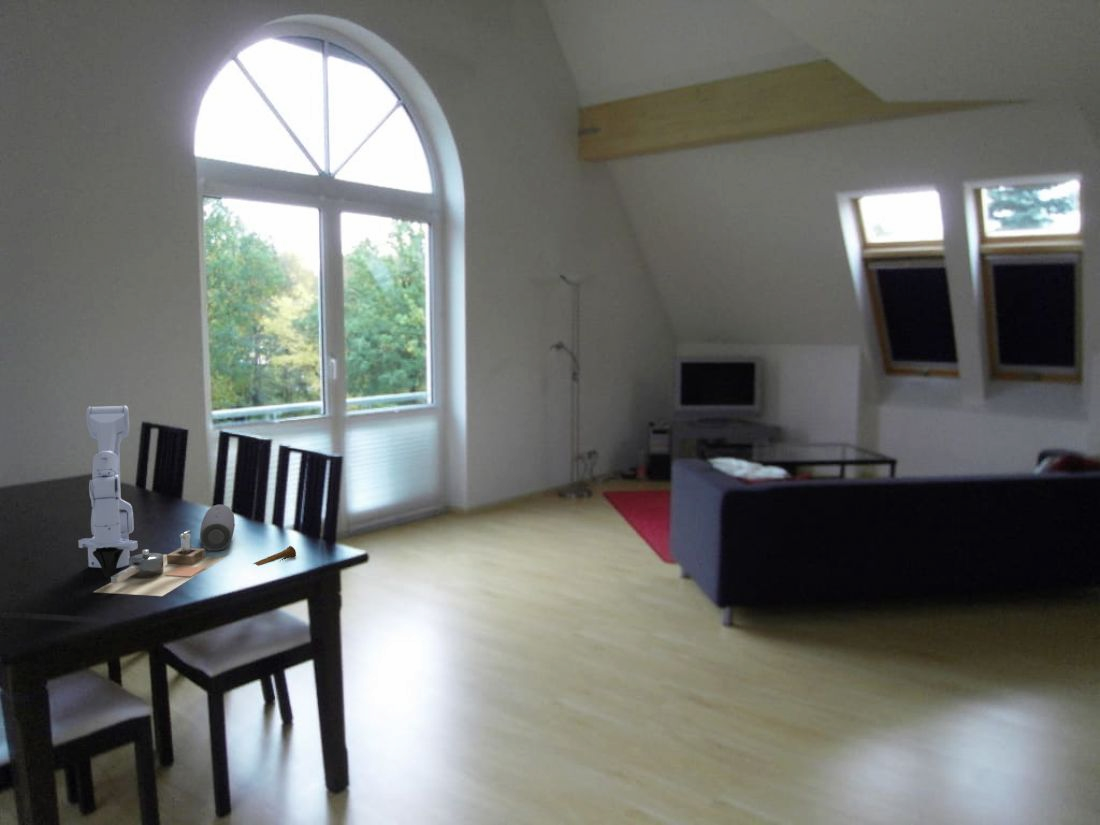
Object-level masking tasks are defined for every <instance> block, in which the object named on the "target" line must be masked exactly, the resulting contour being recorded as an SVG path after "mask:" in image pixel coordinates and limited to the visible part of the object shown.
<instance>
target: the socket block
mask: <svg viewBox="0 0 1100 825" xmlns="http://www.w3.org/2000/svg"><path fill="white" fill-rule="evenodd" d="M166 555H167V564H177V565H193V564H195V563H196V562H198V561H200V560H202V559H203V558H205V557H206V548H199V547H198V548H197V547H191V553H190V554H182V553H181V547H179V548H177V549H176V550H174V551H172V552H170V553H168V554H166Z"/></svg>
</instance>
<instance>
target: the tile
mask: <svg viewBox="0 0 1100 825" xmlns="http://www.w3.org/2000/svg"><path fill="white" fill-rule="evenodd" d="M204 569H205V568H204V567H186V566H180V567H178V568H177V569H175V570H173V571H171V572H170V573H168V574H166V575H165V576H175V577H192V576H194V575H196V574H197V573H199V572H201V571H202V570H204ZM204 571H205V570H204ZM201 573H202V572H201ZM196 576H197V575H196Z"/></svg>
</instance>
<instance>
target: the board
mask: <svg viewBox="0 0 1100 825" xmlns="http://www.w3.org/2000/svg"><path fill="white" fill-rule="evenodd" d="M162 555H163V568H164V571H163V572H162V573H160V574H158V575H155V576H151V577H141V578H138V577H132V576H130V577H128V578H126V579H124V580H123V581H121V582H119V583H111V582H110V583H107V584H106V585H103V586H102V587H100V588H98V589H96V590H94V591H93V593H100V594H116V595H117V594H120V595H133V596H134V595H135V596H147V597H148V596H151V597H164V596H165V595H167V594H169V593H170V592H172V591H173V590H175V589H176V588H177V589H178V588H179V587H180V586H181V585H184V584H185V583H186V582H188V581H190V580H191V579H192V578H195V577H196V576H198V575H200V574H201V573H203V572H204V571H206V570H208V569H209V568H211V567H213V566H214V565H216V564H218V563H219V562H221V561H223V560H224V559H225V557H218V556H205V558H203V559H202V560H200V561H198V562H196V563H195V564H193V565H177V564H167V555H168V554H165V553H164V554H162ZM180 566H186V567H204V568H205V569H204V570H202V571H201V572H199V573H197V574H196V575H194V576H192V577H175V576H165V575H166V574H168V573H170V572H171V571H173V570H175V569H177V568H178V567H180Z"/></svg>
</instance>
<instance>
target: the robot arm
mask: <svg viewBox="0 0 1100 825" xmlns="http://www.w3.org/2000/svg"><path fill="white" fill-rule="evenodd" d="M85 412H86V414H85V416H86V427H87V429H88V434H89V435H90V438H92V439H94V440H97V449H98V453H96V454H95V455H94V456H93V458H92V472H91V473H92V475H91V476H92V477H91V479H89V482H88V483H89V484H88V485H89V486H88V491H89V498H90V501H91V508H92V509H91V516H90V532H91V535H92V537H91V538H90V537H89V538H88V537H87V538H81V539H78V541H77V542H78V548H80V549H83V548H84V549H85V548H87V560H88V567H89V568H98V569H99V568H100V569H101V570H102V572H103V576H104V578H111V576H113V575H115V574H116V570H117V569H120V568H124V567H126V566H129V558H130V557H131V556H130V555H131V554H130V551H131V552H133V551H135V550H137V549H139V548H138V547H139V546H138V545H139V544H138V543H139V542H138V540H131V539H129V538H130V537H129V535H130V534H132V533H133V532H134V529H135V526H134V525H135V524H134V523H135V522H134V512H133V506H132V504H131V503H130V502H128V501H126V500H124V499H122V496H121V495H122V493H121V492H122V491H121V490H122V489H121V462H120V461H121V458H120V457H121V455H120V452H121V451H120V446H121V442H122V440H123V439H124V438H125V439H126V437H129V433H130V412H129V407H128V406H127V405H125V404H124V405H108V406H88V407H87V408H86V411H85Z"/></svg>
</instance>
